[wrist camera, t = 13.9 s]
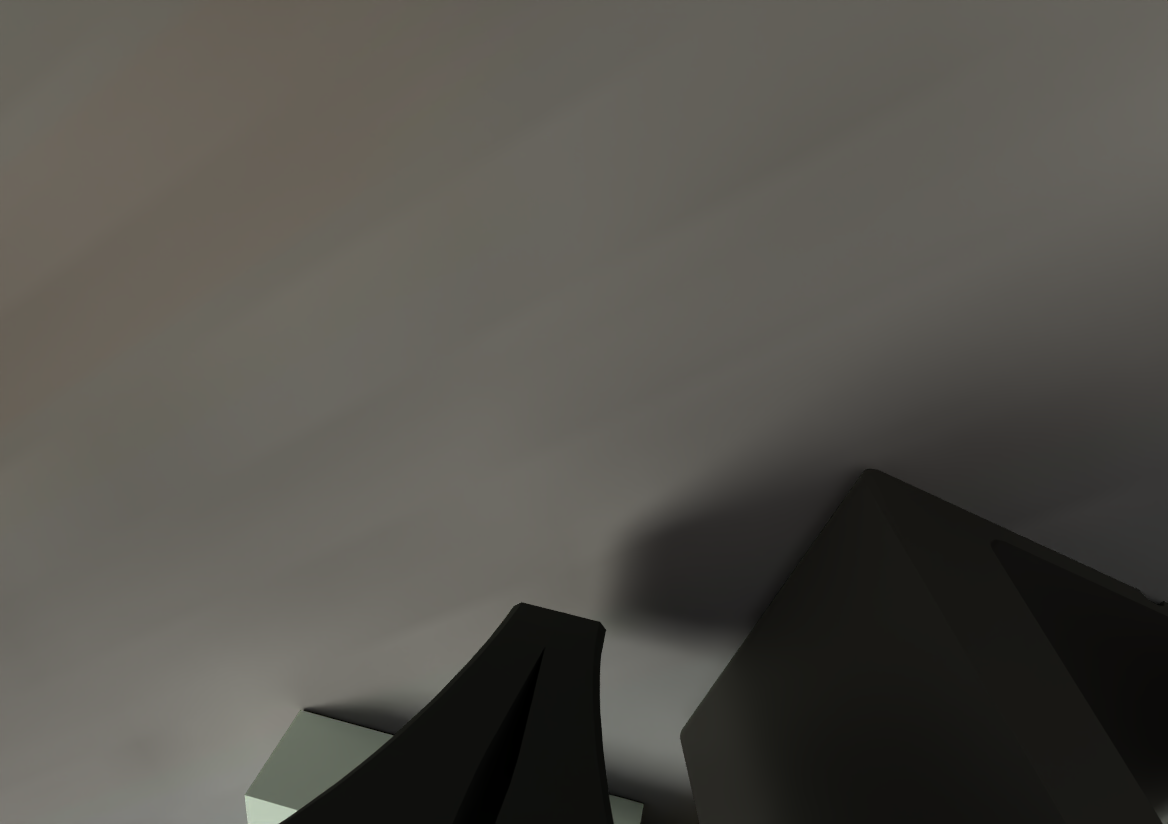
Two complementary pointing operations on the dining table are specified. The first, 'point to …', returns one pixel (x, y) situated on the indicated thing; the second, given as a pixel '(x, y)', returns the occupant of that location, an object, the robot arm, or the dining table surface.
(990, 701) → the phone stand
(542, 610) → the robot arm
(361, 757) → the tray
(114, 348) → the dining table surface
